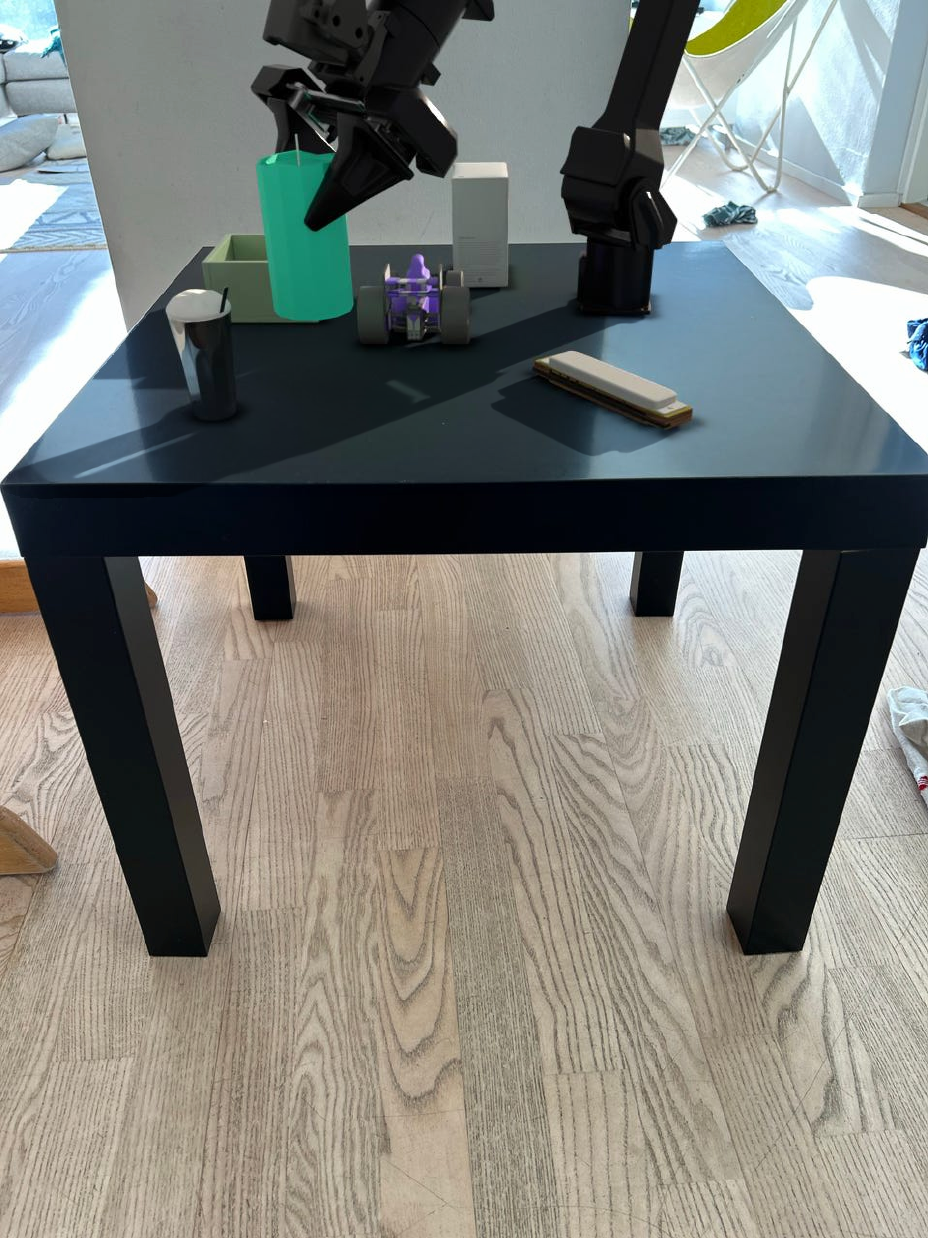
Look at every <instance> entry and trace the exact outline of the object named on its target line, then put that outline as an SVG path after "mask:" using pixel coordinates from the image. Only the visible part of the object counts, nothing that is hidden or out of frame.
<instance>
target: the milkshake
mask: <svg viewBox="0 0 928 1238" xmlns="http://www.w3.org/2000/svg"><path fill="white" fill-rule="evenodd" d="M228 288H229V286H227V287H224V291H223V295H221V294H219V293H217V292H215V291H213V290H206V289H186V290H183V291H181V292H179V293H177V294H175V295H174V296H173V297H172V298H171V299H170V300H169V302H168V303H167V305H166V307H165V314H166V316H167V320H168V324H169V327H170V331H171V333H172V337H173V341H174V344H175V347H176V350H177V353H178V354H177V355H178V357H179V361H180V365H181V368H182V372H183V376H184V380H185V384H186V388H187V392H188V396H189V400H190V404H191V408H192V412H193V414H194V416H195V418H196V419H197V420H202V421H205V422H215V421H217V422H218V421H219V422H220V421H223V420H226V419H229V418H232V417H233V416H234V415H235V414H236V413H238V400H237V399H238V398H237V387H236V373H235V359H234V344H233V322H232V319H231V304H230V302H229V301H228V300H227V294H228Z"/></svg>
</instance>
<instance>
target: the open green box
mask: <svg viewBox="0 0 928 1238" xmlns="http://www.w3.org/2000/svg"><path fill="white" fill-rule="evenodd" d="M201 268H202V275H203V281H204V287H205V290H213V291H215V292H217V293H219V294H221V295H223V291H224V287H227V286H229V288H228V294H227V300H228V301H229V302H230V304H231V319H232V323H269V324H271V323H275V324H276V323H279V324H280V323H285V324H286V323H287V324H289V323H294V324H295V323H297V324H298V323H301V324H302V323H304V324H305V323H306V324H307V323H308V324H309V323H311V324H312V323H313V324H314V323H317V324H318V323H320V321H321V320H318V321H296V320H291V319H287V318H283V317H280V316H279V315H278V314H277V313H276V312H275V311H274V306H273V298H272V290H271V282H270V274H269V266H268V259H267V251H266V243H265V235H264V233H226V234H225V235H224V236H223V238H221V240H220V241H219V242H218V243H217V244H216V245H215V247H214V248H212V250H211V251H210V252H209V254H208V255H207V256H206V257H205V258H204V259H203V260H202V262H201Z"/></svg>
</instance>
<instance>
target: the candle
mask: <svg viewBox="0 0 928 1238" xmlns="http://www.w3.org/2000/svg"><path fill="white" fill-rule="evenodd" d="M295 139H296V149H297V150H293V151H288V152H282V153H277V154H275V153H274V154H269V155H265V156H263V157H261V158H259V160H258V161H257V162H256V164H255V172H256V179H257V187H258V188H257V189H258V195H259V204H260V210H261V218H262V219H261V220H262V226H263V234H264V235H265V243H266V251H267V259H268V266H269V274H270V282H271V290H272V298H273V306H274V311H275V312H276V313H277V314H278V315H279V316H280V317H283V318H287V319H291V320H296V321H318V320H320V321H323V320H324V321H325V320H329V319H335V318H339V317H340V316H341V317H342V316H343V315H345V314H348V313H350V312H351V311H352V309H353V307H354V306H355V305H354V303H355V302H354V291H353V281H352V280H353V279H352V266H351V255H350V244H349V243H350V242H349V230H348V219H347V213H346V214H344V215H343V216H341V217H339V218H338V219H336V220H335V221H333V222H331V223H330V224H328V225H327V226H325V227H323V228H322V229H320V230H319V231H317V232H314V231H311V230H310V229H309V228H308V227H307V226H306V225H305V224H304V218H305V216H306V213H307V211H308V209H309V207H310V205H311V203H312V201H313V199H314V197H315V195H316V193H317V190H318V188H319V186H320V184H321V182H322V180H323V178H324V176H325V173H326V171H327V169H328V167H329V165H330V163H331V161H332V159H333V157H334V155H335V153H328V154H320V155H317V154H313V153H308V152H304V151H299V148H298V138H297V134H295Z"/></svg>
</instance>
